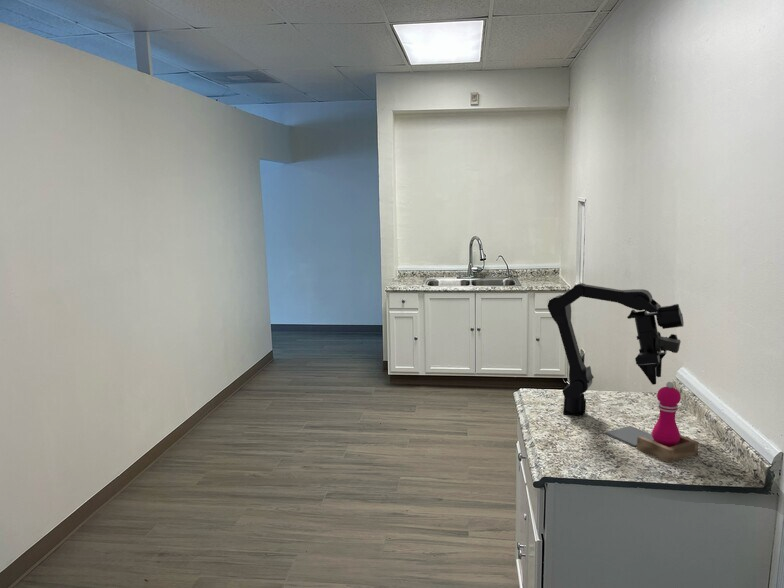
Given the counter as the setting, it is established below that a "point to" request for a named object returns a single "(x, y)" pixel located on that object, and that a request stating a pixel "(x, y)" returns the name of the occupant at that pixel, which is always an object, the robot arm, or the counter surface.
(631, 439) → the rubber mat
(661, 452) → the walnut cradle
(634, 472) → the counter surface
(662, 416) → the pepper mill
